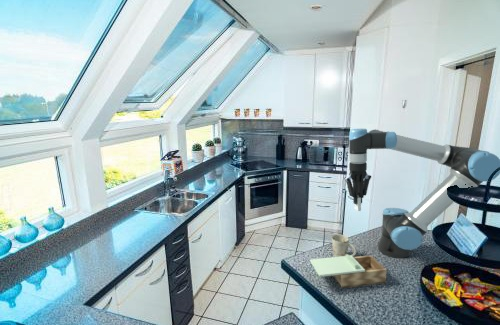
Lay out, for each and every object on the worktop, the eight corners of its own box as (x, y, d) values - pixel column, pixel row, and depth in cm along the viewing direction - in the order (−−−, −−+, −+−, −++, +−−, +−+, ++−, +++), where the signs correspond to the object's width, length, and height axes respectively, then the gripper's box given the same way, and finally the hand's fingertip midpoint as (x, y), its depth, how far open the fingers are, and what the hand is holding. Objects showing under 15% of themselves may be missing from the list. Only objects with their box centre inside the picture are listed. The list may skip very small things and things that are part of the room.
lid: (351, 256, 124) (351, 252, 123) (364, 271, 112) (365, 266, 112) (310, 261, 122) (310, 256, 121) (319, 276, 110) (319, 271, 110)
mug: (335, 250, 143) (335, 233, 141) (359, 257, 135) (359, 239, 133) (329, 256, 137) (329, 239, 135) (353, 264, 129) (354, 245, 127)
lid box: (370, 267, 126) (370, 255, 125) (385, 283, 114) (386, 269, 113) (330, 272, 124) (330, 259, 123) (341, 288, 112) (342, 274, 111)
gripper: (365, 159, 128) (365, 205, 132) (340, 162, 125) (341, 209, 129) (375, 161, 120) (374, 210, 125) (349, 164, 118) (349, 214, 122)
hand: (357, 209), depth 127 cm, fingers closed
